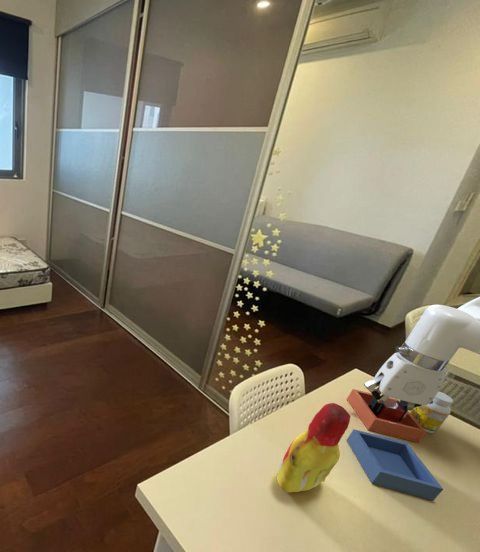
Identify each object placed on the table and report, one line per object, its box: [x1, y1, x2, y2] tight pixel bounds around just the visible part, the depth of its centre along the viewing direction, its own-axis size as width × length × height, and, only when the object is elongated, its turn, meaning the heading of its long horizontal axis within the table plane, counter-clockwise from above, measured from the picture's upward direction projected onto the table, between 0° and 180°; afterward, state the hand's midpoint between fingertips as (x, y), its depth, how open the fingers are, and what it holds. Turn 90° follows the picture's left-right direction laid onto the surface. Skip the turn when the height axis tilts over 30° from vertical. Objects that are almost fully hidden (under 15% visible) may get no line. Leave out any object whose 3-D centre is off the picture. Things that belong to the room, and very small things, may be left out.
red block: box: [377, 397, 405, 423], centre depth 80 cm, size 4×4×4 cm
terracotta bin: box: [346, 388, 428, 444], centre depth 80 cm, size 11×11×4 cm
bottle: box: [276, 402, 351, 493], centre depth 59 cm, size 12×6×20 cm, turn 112°
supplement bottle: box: [409, 390, 454, 434], centre depth 79 cm, size 5×5×10 cm
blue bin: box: [346, 428, 444, 502], centre depth 68 cm, size 11×11×4 cm
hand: (383, 414), depth 80 cm, fingers closed on red block, 4 cm apart
